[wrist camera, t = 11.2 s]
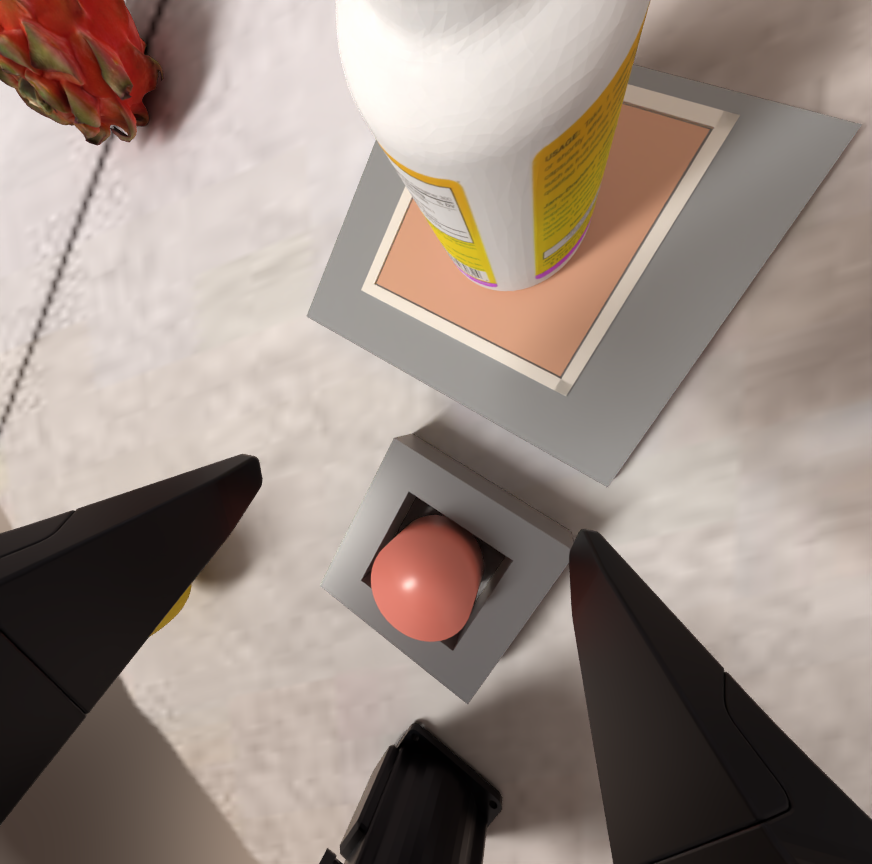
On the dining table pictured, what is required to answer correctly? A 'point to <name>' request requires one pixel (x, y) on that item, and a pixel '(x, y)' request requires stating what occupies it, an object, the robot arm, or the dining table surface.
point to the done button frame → (479, 514)
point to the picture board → (590, 271)
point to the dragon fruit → (78, 63)
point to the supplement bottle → (495, 118)
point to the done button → (428, 578)
